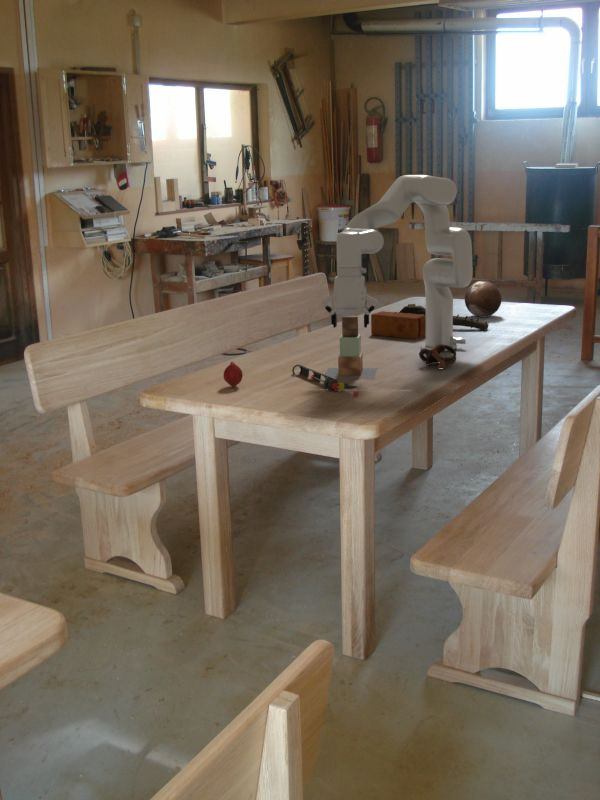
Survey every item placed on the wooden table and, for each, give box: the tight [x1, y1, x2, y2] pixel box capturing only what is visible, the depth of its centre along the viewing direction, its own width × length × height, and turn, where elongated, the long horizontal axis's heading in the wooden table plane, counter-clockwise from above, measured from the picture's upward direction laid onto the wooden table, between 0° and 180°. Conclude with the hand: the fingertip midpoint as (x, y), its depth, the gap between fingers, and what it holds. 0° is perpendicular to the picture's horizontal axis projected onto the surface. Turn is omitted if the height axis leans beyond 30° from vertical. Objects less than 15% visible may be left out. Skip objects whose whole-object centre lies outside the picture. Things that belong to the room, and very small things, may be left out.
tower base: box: [337, 351, 364, 376], centre depth 298 cm, size 7×7×6 cm
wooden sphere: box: [464, 280, 503, 318], centre depth 388 cm, size 15×15×15 cm
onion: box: [223, 361, 244, 388], centre depth 286 cm, size 6×6×8 cm
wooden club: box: [398, 303, 489, 331], centre depth 367 cm, size 39×5×10 cm, turn 74°
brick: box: [370, 310, 425, 341], centre depth 356 cm, size 20×8×8 cm, turn 54°
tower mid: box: [339, 333, 362, 357], centre depth 297 cm, size 6×6×6 cm
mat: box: [322, 367, 379, 380], centre depth 299 cm, size 16×14×1 cm
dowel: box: [341, 315, 359, 337], centre depth 295 cm, size 5×5×6 cm
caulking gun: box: [292, 364, 359, 399], centre depth 285 cm, size 4×37×10 cm
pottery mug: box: [418, 344, 457, 369], centre depth 305 cm, size 12×10×8 cm
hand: (350, 326), depth 295 cm, fingers open, 9 cm apart
